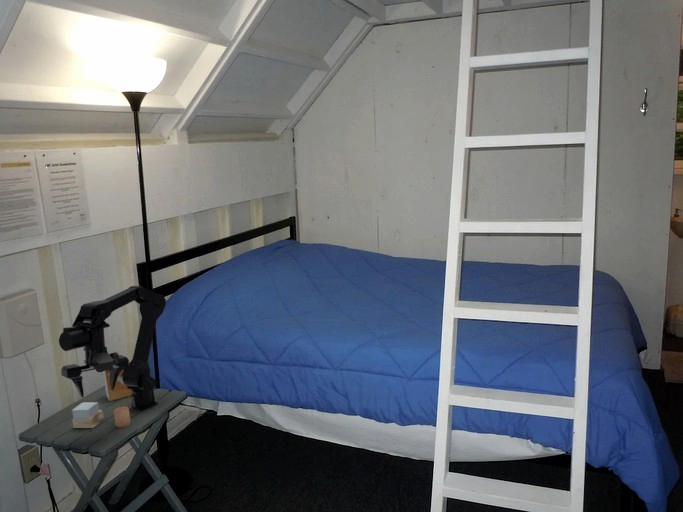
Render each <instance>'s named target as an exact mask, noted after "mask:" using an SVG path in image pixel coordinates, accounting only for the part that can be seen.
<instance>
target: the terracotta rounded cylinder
mask: <svg viewBox="0 0 683 512" xmlns="http://www.w3.org/2000/svg"><path fill="white" fill-rule="evenodd" d="M130 415H131V414H130V408H129V406H119V407H116V408H114V410H113V416H114V422H115V423H114V424H115V427H116V428H124V427H127V426H129V425H131V423H132V422H131V416H130Z"/></svg>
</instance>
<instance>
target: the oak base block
mask: <svg viewBox="0 0 683 512" xmlns="http://www.w3.org/2000/svg"><path fill="white" fill-rule="evenodd" d="M104 417H105V416H104V410H103V409H99V412H97V413H96V414H95V415H94V416H92V417H91V418H90V419H74V418H72V419H71V420H72V425H73V429H74V428H92V429H93V428H95V427H96V426H98V425H99V424H100V423H101V422H102V421H104V420H105V418H104Z"/></svg>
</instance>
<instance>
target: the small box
mask: <svg viewBox="0 0 683 512" xmlns="http://www.w3.org/2000/svg"><path fill="white" fill-rule="evenodd" d="M123 370H124V369H123ZM123 370H122V371H121V372H120V373H119V375H118V378H117V381H116V384H115V387H114V390H111V386H110V373H109V370H107V371H103V372H102V376H103V383H104V389H105V396H106V398H107V399H108V401H109V402H113V401H116V400H119V399H123V397H124V398H126V396H127V397H131V396H130V395H132V389H128V388H127V386H126V385H125V384H124V382H123V381H122V378H123V376H122V373H123Z"/></svg>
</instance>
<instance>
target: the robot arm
mask: <svg viewBox="0 0 683 512" xmlns="http://www.w3.org/2000/svg"><path fill="white" fill-rule="evenodd" d="M132 302H135V303H137V304H139V306H138V307H139V308H138V309H139V314H140V315H141V319H140V325H139V329H138V333H137V337H136V342H135V345H134V346H135V347H134V351H133V355H132V359H131V361H130V360H129V357H127V356H125V355H122V354H120V353H118V352H117V351H116V352H111V353H109V352H108V348H107V346H106V341H105V328H110V327H111V325H110V324H109V323H108V322H106V321H105V320H107V319H108V318H110V317H111V315H112V314H113V312H114V311H116V310H118V309H121V308H122V307H124V306H126V305H128V304H130V303H132ZM166 304H167V300H166V298H165V296H164V294H161V293H157V292H155V291H152V290H150V289H147V288H146V287H144V286H142V285H131V286H129V287H128V288H126V289H124V290H122V291H119V292H117V293H116V294H113V295H111V296H109V297H107V298H104V299H102V300H96V301H91V302H86V303H84V304H82V305H81V306H80V309H79V311H78V313H77V315H76V317H75V319H74V321H73V323H72V326H71V327H69V326H67V327H63V330H62V331H63V332H61V333H60V335H59V338H58V343H59V347H60V348H61V350H63V351H65V352H69V351H73V350H77V349H80V348H83V351H84V357H85V359H84V362H83V363H84V365H78V364H77V363H71V364H68V365H63V366H62V368H61V370H60V372H61V376H62V377H64V378H66V379H69V380H71V381H72V383H73V384H74V385H75V388H76V389H77V391H78V393H79V396H80V397H81V398H84V395H85V392H84V387H83V385H84V384H83V378H84V377H83V376H82V373H83V372H89V371H93V370H95V371H96V372H97V373H103V371H107V370H109V373H110V386H111V390H114V387H115V384H116V381H117V378H118V375H119V373H120V372H121V371H122V370H123V369H124V370H123V373H122V376H123V378H122V381H123V382H124V384H125V385H126V386H127V388H128V389H132V395H131V396H130V398H131V406H132V407H133V408H135V409H137V410H138V411H142V410H145V409H148V408H150V407H153V406H155V405H158V401H156V398H155V390H154V389H155V388H156V387H157V385H158V384H157V382H158V380H157V379H155V378H153V377H152V376H151V368H150V364H149V356H150V353H151V347H152V343H153V338H154V333H155V330H156V325H157V321H158V319H159V318H160V317H161V316H162V314H164V311H165V307H166V306H167V305H166Z"/></svg>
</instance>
